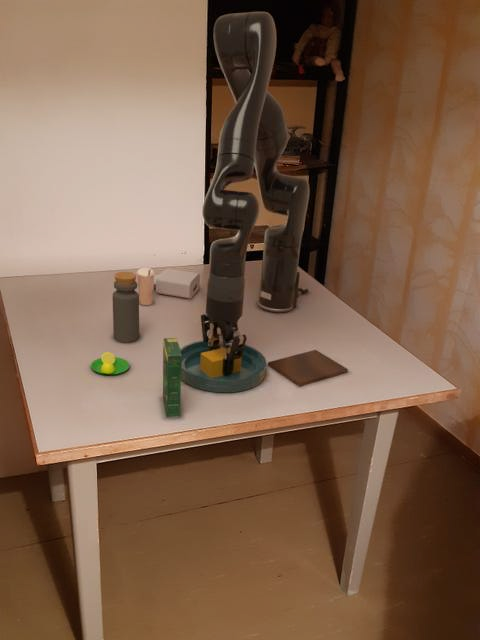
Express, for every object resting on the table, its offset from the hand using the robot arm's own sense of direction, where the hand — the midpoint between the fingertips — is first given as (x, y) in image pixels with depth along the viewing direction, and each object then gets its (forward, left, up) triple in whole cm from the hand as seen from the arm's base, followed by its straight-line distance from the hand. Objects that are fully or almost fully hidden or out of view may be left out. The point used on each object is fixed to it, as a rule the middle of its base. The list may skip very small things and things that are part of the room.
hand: (220, 368), depth 144 cm
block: (0, 0, -1) cm, 1 cm away
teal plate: (0, 0, -1) cm, 1 cm away
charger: (-14, -46, -1) cm, 48 cm away
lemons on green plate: (+20, -12, -1) cm, 23 cm away
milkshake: (-4, -40, -1) cm, 40 cm away
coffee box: (+17, +8, -1) cm, 19 cm away
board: (-18, +8, -1) cm, 20 cm away
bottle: (+10, -24, -1) cm, 26 cm away
